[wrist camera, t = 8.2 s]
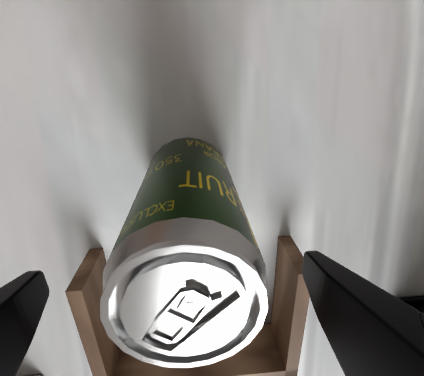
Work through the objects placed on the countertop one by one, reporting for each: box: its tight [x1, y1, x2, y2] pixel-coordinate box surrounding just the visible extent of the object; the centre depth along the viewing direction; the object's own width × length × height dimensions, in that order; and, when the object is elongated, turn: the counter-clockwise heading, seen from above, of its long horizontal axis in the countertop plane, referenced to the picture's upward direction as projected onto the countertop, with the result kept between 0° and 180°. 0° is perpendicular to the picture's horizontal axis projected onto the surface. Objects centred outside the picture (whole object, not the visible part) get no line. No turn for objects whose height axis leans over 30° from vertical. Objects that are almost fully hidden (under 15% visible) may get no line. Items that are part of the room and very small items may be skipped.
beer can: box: [100, 138, 268, 368], centre depth 13 cm, size 5×5×12 cm
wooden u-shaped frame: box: [65, 236, 310, 376], centre depth 21 cm, size 16×11×4 cm
